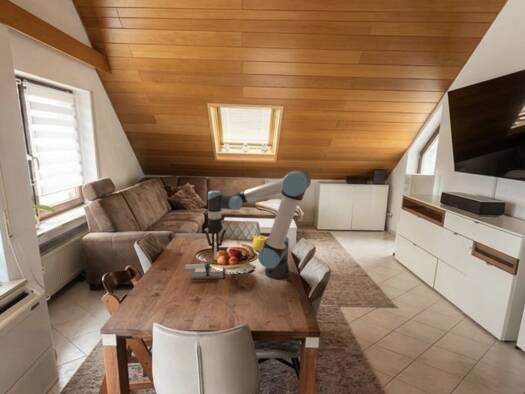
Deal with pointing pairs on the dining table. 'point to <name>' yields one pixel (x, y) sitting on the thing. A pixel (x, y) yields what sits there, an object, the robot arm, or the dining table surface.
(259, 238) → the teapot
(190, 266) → the cable arm
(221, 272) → the server plate
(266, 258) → the robot arm
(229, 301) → the dining table surface
